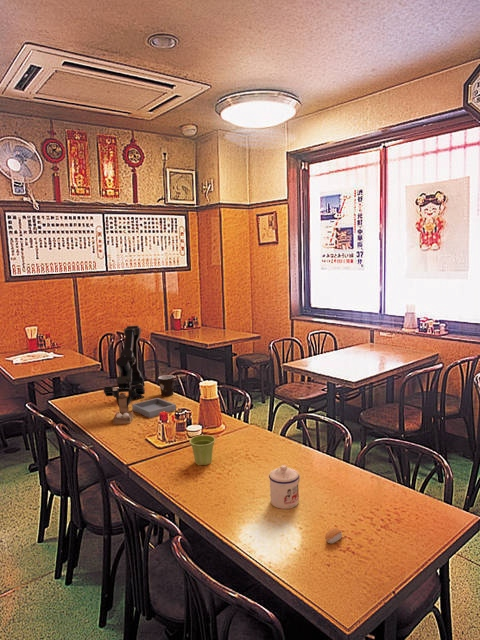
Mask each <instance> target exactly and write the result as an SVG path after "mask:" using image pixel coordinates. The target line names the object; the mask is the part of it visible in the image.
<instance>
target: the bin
mask: <svg viewBox="0 0 480 640" xmlns="http://www.w3.org/2000/svg"><path fill="white" fill-rule="evenodd" d="M131 408H132V411H133V412H135V413H136V414H140V415H142V416H144V417H146V418H149V419H151V418H155V417H158V415H159V413H160V412H163V411H165V412H169V413H172V412H171V411H173V412H175V411H174V410H176V411H177V404H175V403H172V402H170V401H168V400H165V399H162V398H159V397H156V398H151V399H149V400H148V399H147V400H145V401H140V402H136V403H133V404H131ZM159 416H160V415H159Z"/></svg>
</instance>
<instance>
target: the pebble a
mask: <svg viewBox="0 0 480 640" xmlns="http://www.w3.org/2000/svg"><path fill="white" fill-rule="evenodd" d="M115 415H116V414H115ZM116 418H123V415H122V414H121V413H120V412H119V413H118V414H117V415H116Z"/></svg>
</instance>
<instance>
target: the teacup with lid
mask: <svg viewBox="0 0 480 640" xmlns="http://www.w3.org/2000/svg"><path fill="white" fill-rule="evenodd" d="M268 478H269V489H270V492H269V493H270V503H271V505H272V506H273V507H275V508H277V509H281V510H282V509H283V510H286V509H287V510H288V509H289V510H290V509H292V508H295V507H296V506H298V504H299V502H300V495H299V493H300V492H299V483H300V479H301V478H300V473H298V471H297V470H295V469H294V468H291V467H287V465H285V464H282V465H280V467H277V468H275V469H272V470H271V471H270V472H269V475H268Z"/></svg>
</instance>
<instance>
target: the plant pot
mask: <svg viewBox="0 0 480 640" xmlns="http://www.w3.org/2000/svg"><path fill="white" fill-rule="evenodd" d="M215 442H216V437H214V436H213V435H208V434H201V435H195V436H193V437H191V438H190V439H189V443H190V446H191V448H192V453H193V459H194V463H195V464H196V465H198V466H207V465H210V464H211V463H212V461H213V451H214V444H215Z"/></svg>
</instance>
